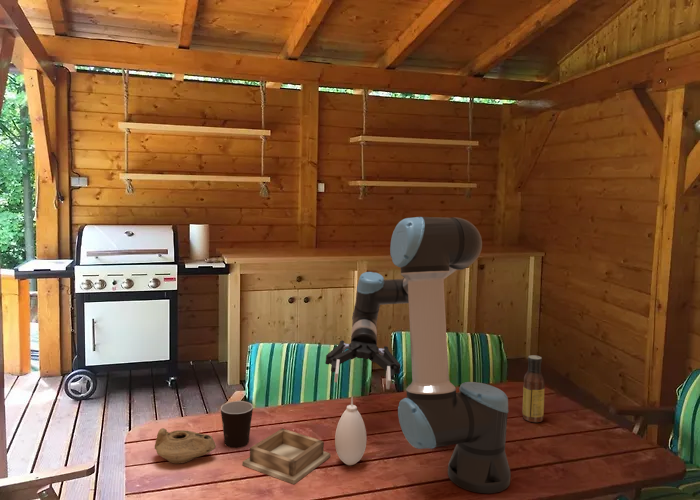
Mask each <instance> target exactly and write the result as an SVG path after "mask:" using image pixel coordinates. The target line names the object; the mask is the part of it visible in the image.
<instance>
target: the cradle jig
mask: <svg viewBox="0 0 700 500" xmlns="http://www.w3.org/2000/svg"><path fill="white" fill-rule="evenodd" d="M324 443H325V442H324V440H320V439H318V438H315V437H311V436H308V435H304V434H302V433H299V432H295V431H293V430H288V429H285V428H280V429H279V430H277V431H276V432H274V433H271V434H270V435H269V436H267V437H265V438H263V439H262V440H261V441H259V442H257V443H256V444H254V445H252V446H251V447H249V456H248V458H246V459H245V460H243V461H242V466H243V467H244V468H245V467H246V468H249V469H252V470H253V471H257V472H259V473H262V474H265V475H268V476H269V477H274V478H276V479H278V480H281V481H284V482H286V483H289V484H292V485H295V484H297V483H298V482H299V481H301V480H302V479H303V478H305V477H306V476H307V475H308V474H310V473H311V472H312V471H315V469H316V468H318V467H319V466H320V465H322V464H323V463H324V462H326V461H327V460H329V459H330V458H331V453H330V452H327V451H324V449H325V447H324Z"/></svg>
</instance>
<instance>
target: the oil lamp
mask: <svg viewBox="0 0 700 500" xmlns="http://www.w3.org/2000/svg"><path fill="white" fill-rule="evenodd" d="M216 446H217V445H216V442H215V440H214V438H213V436H212V435H210V434H207V433H206V434H205V433H199V432H195V431H191V430H185V429H181V430H179V429H177V430H173V431H170V432H169V431H168V430H167V429H166V428H163V427H162V428H160V429H159V430H158V432H157V435H156V439H155V444H154V449H155V451H156V454H157V455H158V456H160V457H162V458H163V459H165V460H167V462H170V463H173V464H184V463H188V462H191V461H192V460H193V459H195V458H200V457H202V456H204V455H207V454H209V453H211V452H212V451H214V449H216Z"/></svg>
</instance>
